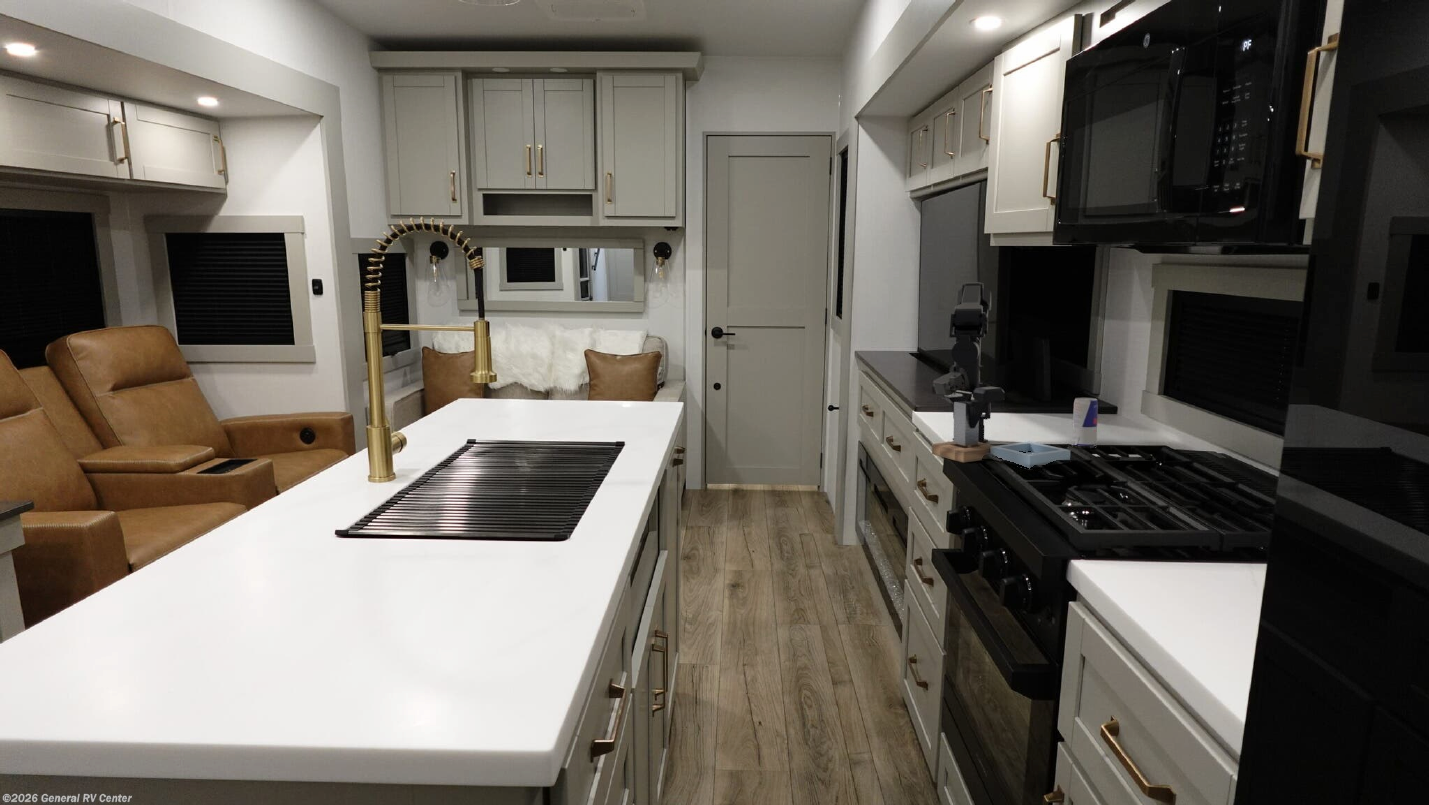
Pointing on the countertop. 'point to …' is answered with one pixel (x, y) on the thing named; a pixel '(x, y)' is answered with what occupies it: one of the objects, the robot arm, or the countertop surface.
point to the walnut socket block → (961, 451)
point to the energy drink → (1085, 422)
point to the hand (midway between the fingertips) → (966, 427)
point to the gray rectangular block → (964, 426)
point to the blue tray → (1030, 453)
